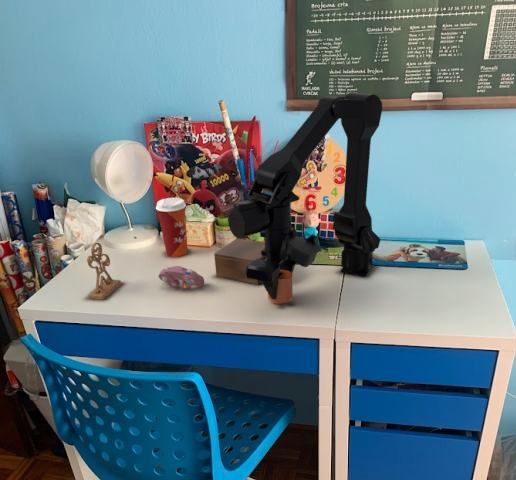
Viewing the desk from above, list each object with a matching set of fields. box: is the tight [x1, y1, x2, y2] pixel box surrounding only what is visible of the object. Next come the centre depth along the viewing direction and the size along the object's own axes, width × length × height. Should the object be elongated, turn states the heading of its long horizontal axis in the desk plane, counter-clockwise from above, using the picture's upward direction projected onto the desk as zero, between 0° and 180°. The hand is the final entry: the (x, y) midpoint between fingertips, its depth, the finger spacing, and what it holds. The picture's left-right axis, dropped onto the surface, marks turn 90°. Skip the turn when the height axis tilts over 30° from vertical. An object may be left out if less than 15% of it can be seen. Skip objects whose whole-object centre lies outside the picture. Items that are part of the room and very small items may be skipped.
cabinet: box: [213, 238, 266, 285], centre depth 142 cm, size 12×11×6 cm
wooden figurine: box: [86, 242, 122, 301], centre depth 136 cm, size 9×4×12 cm, turn 163°
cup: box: [266, 270, 294, 304], centre depth 128 cm, size 6×6×6 cm
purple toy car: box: [158, 265, 205, 290], centre depth 137 cm, size 10×5×7 cm, turn 70°
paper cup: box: [155, 197, 188, 258], centre depth 153 cm, size 8×8×14 cm
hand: (280, 293), depth 129 cm, fingers closed on cup, 5 cm apart
